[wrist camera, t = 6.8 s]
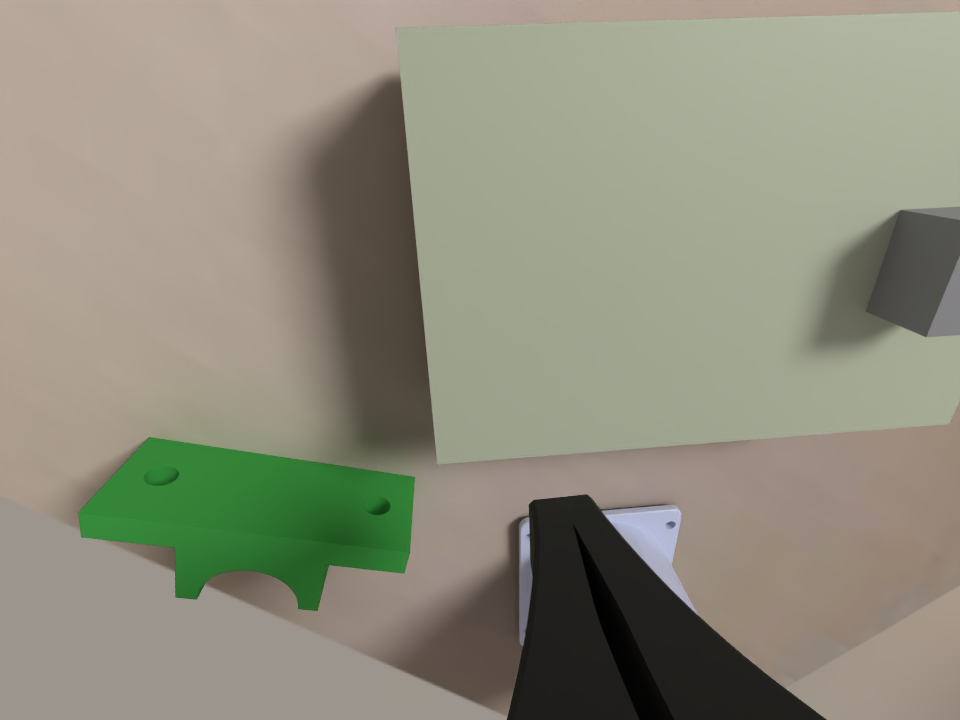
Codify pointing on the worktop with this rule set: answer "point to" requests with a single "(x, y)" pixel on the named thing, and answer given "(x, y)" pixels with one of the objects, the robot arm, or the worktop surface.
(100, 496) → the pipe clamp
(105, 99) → the worktop surface
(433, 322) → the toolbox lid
